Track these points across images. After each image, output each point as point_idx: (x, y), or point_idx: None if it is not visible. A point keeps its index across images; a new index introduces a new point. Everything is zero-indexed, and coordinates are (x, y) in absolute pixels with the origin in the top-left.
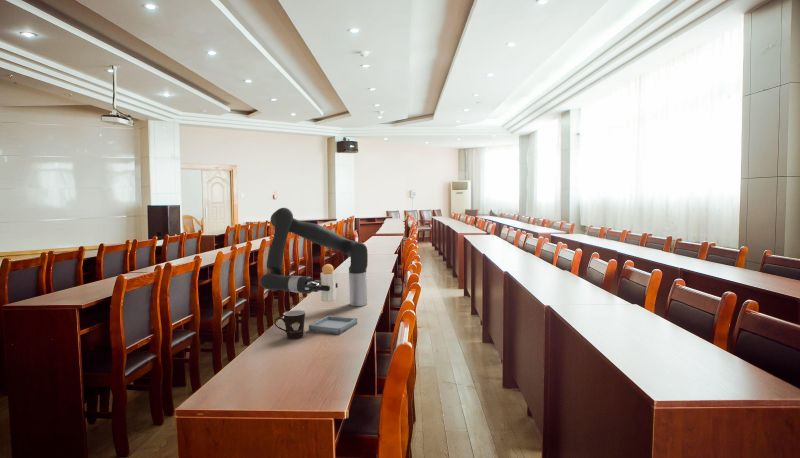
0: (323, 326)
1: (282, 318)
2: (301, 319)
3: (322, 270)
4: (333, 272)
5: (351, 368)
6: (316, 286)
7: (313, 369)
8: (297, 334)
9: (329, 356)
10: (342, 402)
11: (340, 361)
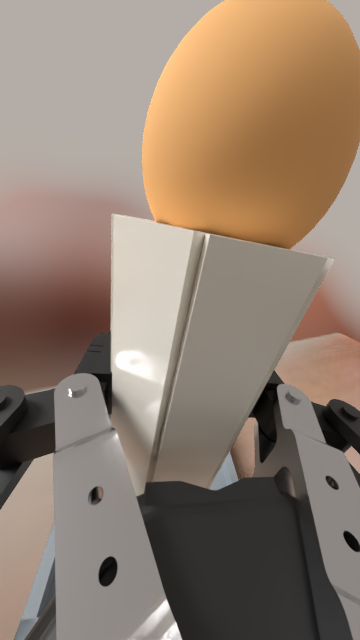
0: (232, 475)
1: None
2: None
3: (341, 186)
4: (155, 221)
5: (294, 345)
6: (349, 407)
7: (346, 377)
8: None
9: (304, 378)
10: (334, 334)
11: (297, 360)
